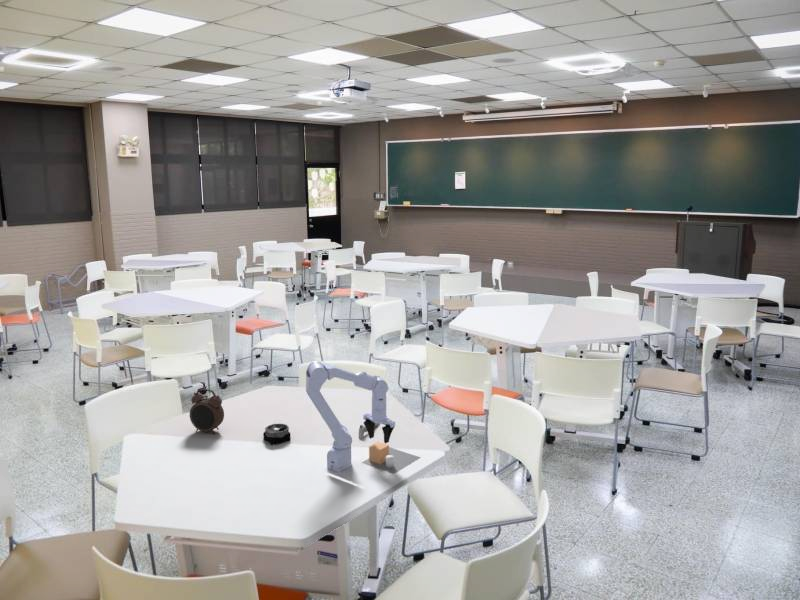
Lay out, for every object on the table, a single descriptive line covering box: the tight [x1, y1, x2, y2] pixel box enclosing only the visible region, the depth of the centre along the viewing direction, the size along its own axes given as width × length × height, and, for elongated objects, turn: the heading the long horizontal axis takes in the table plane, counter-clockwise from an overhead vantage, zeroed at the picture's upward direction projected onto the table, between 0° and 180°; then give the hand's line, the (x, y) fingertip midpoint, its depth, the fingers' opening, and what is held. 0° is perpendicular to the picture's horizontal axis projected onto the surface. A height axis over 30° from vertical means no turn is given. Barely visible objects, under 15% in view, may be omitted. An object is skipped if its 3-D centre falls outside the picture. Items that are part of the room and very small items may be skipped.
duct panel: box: [361, 446, 421, 475], centre depth 244 cm, size 18×16×5 cm
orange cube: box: [368, 441, 390, 464], centre depth 244 cm, size 6×6×6 cm
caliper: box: [358, 423, 380, 439], centre depth 275 cm, size 21×1×6 cm, turn 158°
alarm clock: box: [189, 388, 225, 435], centre depth 272 cm, size 14×7×20 cm, turn 76°
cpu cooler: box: [262, 423, 291, 446], centre depth 266 cm, size 10×6×10 cm
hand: (379, 440), depth 243 cm, fingers open, 7 cm apart
